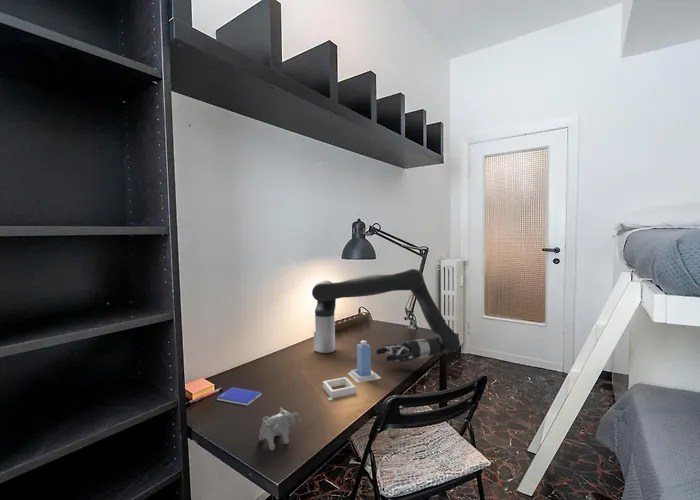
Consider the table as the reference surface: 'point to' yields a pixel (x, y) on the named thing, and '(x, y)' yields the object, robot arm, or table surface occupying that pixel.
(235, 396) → the hard drive
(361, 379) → the white square tray
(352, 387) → the frame
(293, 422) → the elephant statuette
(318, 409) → the table surface
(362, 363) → the blue square bottle
